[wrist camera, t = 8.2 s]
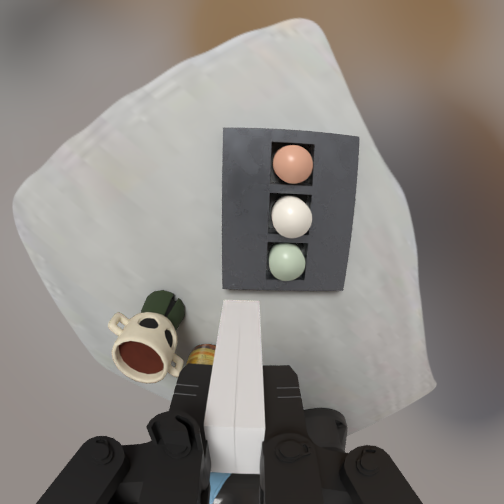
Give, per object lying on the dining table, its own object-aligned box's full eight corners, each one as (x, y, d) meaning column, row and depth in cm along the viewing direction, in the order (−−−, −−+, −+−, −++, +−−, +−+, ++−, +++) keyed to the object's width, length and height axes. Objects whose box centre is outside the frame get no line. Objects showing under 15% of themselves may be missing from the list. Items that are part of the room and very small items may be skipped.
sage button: (299, 270, 40) (303, 281, 37) (267, 269, 40) (268, 280, 37) (302, 239, 38) (306, 247, 35) (268, 238, 38) (270, 246, 35)
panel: (337, 281, 41) (343, 290, 38) (224, 279, 41) (222, 288, 38) (351, 137, 34) (359, 136, 32) (225, 129, 34) (223, 127, 31)
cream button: (305, 230, 37) (310, 238, 33) (269, 229, 36) (271, 237, 33) (307, 195, 35) (313, 200, 32) (271, 194, 35) (273, 198, 32)
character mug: (207, 314, 43) (193, 373, 31) (180, 341, 45) (161, 400, 32) (149, 268, 40) (113, 315, 28) (125, 298, 42) (89, 349, 30)
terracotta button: (306, 181, 36) (311, 184, 33) (271, 179, 36) (273, 182, 33) (307, 146, 34) (313, 146, 31) (272, 144, 34) (274, 144, 31)
